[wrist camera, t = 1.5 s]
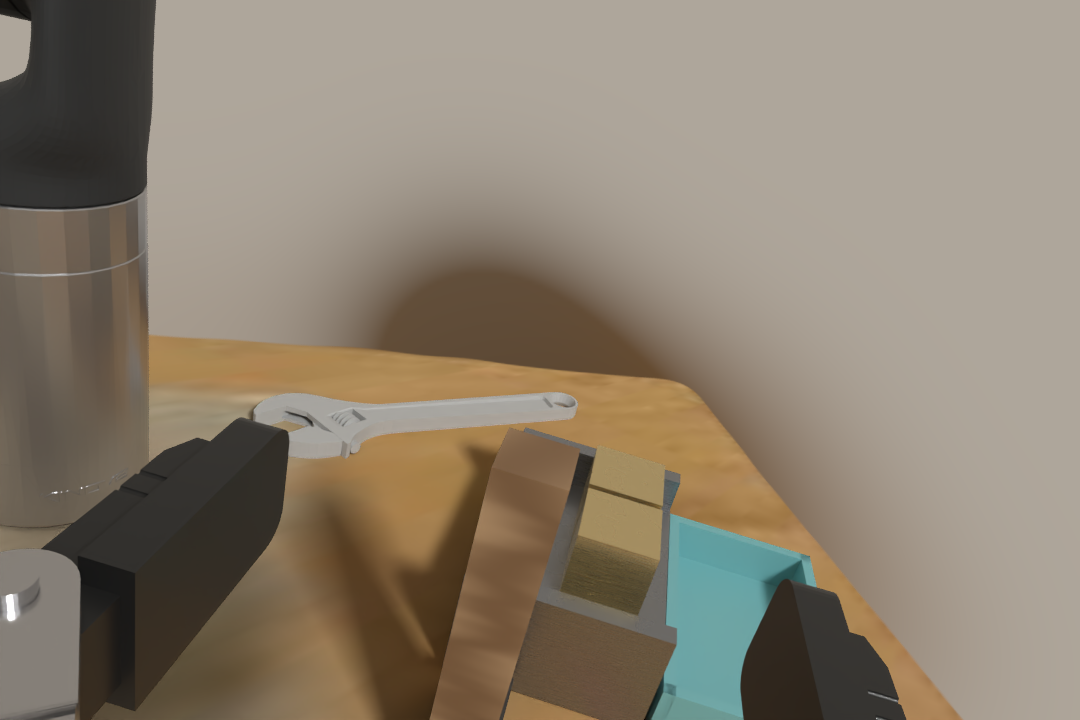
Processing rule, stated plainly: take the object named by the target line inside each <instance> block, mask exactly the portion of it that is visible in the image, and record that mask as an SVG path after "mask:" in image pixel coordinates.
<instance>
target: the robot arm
mask: <svg viewBox="0 0 1080 720" xmlns="http://www.w3.org/2000/svg"><path fill="white" fill-rule="evenodd" d="M155 9H156V0H0V14H1V15H6V16H10V17H15V18H19V19H24V20H28V21H31V42H30V53H29V60H28V64H27V68H26V70H25V71H24V73H22V74H20V75H18V76H16V77H14V78H12V79H9V80H6V81H3V82H0V525H4V526H14V527H26V528H28V527H50V526H57V525H63V524H70V523H73V524H72V525H70V526H69V527H68V528H67V529H65V530H64V531H63V532H62V533H60V534H59V535H58V536H57V537H55V538H54V539H53V540H52V541H50V542H49V543H48V544H47V545H45V546H44V547H43V548H42V549H15V550H9V551H3V552H0V720H90V719H91V718H92V717H93V716H94V715H95V713H96V712H97V711H98V710H99V709H100V708H101V706H102V705H103V704H104V703H105V702H108V703H111V704H114V705H117V706H120V707H124V708H127V709H130V710H133V711H136V709H137V708H138V707H139V706H140V704H141V703H142V702H143V701H144V699H145V698H146V697H147V696H148V694H149V693H150V692H151V691H152V689H153V688H154V687H155V686H156V684H157V683H158V682H159V681H160V679H161V678H162V677H163V676H164V674H165V673H166V672H167V671H168V669H169V668H170V667H171V666H172V665H173V663H174V662H175V661H176V660H177V658H178V657H179V656H180V655H181V653H182V652H183V651H184V650H185V648H186V647H187V646H188V645H189V643H190V642H191V641H192V640H193V638H194V637H195V636H196V635H197V633H198V632H199V631H200V630H201V628H202V627H203V626H204V625H205V623H206V622H207V621H208V620H209V618H210V617H211V616H212V615H213V614H214V612H215V611H216V610H217V609H218V607H219V606H220V605H221V604H222V602H223V601H224V600H225V599H226V597H227V596H228V595H229V594H230V592H231V591H232V590H233V589H234V587H235V586H236V585H237V584H238V582H239V581H240V580H241V579H242V577H243V576H244V575H245V574H246V572H247V571H248V570H249V569H250V567H251V566H252V565H253V564H254V563H255V561H256V560H257V559H258V558H259V556H260V555H261V554H262V553H263V551H264V550H265V549H266V547H267V546H268V545H269V543H270V541H271V540H272V538H273V536H274V534H275V532H276V529H277V527H278V524H279V521H280V518H281V514H282V509H283V501H284V491H285V482H286V472H287V463H288V453H289V442H290V440H289V434H288V432H287V431H286V430H283V429H280V428H276V427H273V426H269V425H266V424H263V423H259V422H256V421H252V420H249V419H246V418H238V419H236V420H235V421H233V422H232V423H231V424H230V425H229V426H228V427H226V428H225V429H224V430H223V431H222V432H221V433H219V434H218V435H217V436H216V437H215V438H214V439H212V440H211V441H207V440H203V439H200V438H195V439H193V440H190V441H188V442H185V443H182V444H180V445H177V446H175V447H172V448H169V449H167V450H164V451H163V452H162V453H161V454H159V455H158V456H157V457H156V458H154V459H153V460H152V461H151V462H149V335H148V243H147V151H148V142H149V132H150V125H151V114H152V93H153V91H152V90H153V87H152V86H153V83H152V82H153V46H154V25H155ZM740 692H741V702H742V710H743V719H744V720H906V717H905V715H904V712H903V709H902V706H901V705H900V704H898V699H899V698H898V695H897V692H896V689H895V687H894V684H893V681H892V678H891V675H890V673H889V670H888V667H887V666H886V665H885V663H884V662H883V661H882V659H881V658H880V657H879V655H878V654H877V653H876V651H875V650H874V649H873V647H872V646H871V645H870V643H869V642H868V641H867V639H866V638H865V637H864V636H860V635H857V634H854V633H850V632H849V629H848V626H847V623H846V620H845V616H844V613H843V610H842V607H841V604H840V601H839V598H838V596H837V595H836V594H835V593H833V592H830V591H827V590H823V589H820V588H816V587H813V586H810V585H806V584H803V583H799V582H796V581H793V580H789V579H784V580H783V581H781V583H780V584H779V585H778V587H777V589H776V591H775V593H774V595H773V597H772V599H771V601H770V603H769V605H768V607H767V610H766V612H765V614H764V616H763V618H762V620H761V622H760V624H759V626H758V628H757V631H756V633H755V635H754V637H753V639H752V641H751V643H750V645H749V647H748V650H747V652H746V655H745V658H744V662H743V666H742V672H741V681H740Z"/></svg>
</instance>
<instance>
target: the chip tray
mask: <svg viewBox="0 0 1080 720" xmlns="http://www.w3.org/2000/svg"><path fill="white" fill-rule="evenodd" d="M784 579H789V580H793V581H796V582H799V583H803V584H806V585H810V586H813V587H816V582H815V578H814V573H813V569H812V565H811V560H810V556H807V555H804V554H800V553H797V552H794V551H791V550H787V549H784V548H781V547H777V546H774V545H771V544H768V543H764V542H761V541H758V540H755V539H751V538H748V537H745V536H741V535H738V534H735V533H732V532H728V531H725V530H722V529H719V528H715V527H712V526H709V525H706V524H702V523H699V522H696V521H692V520H689V519H686V518H683V517H679V516H676V515H673V514H670V522H669V547H668V572H667V596H666V621H665V625H668V626H671V627H674V628H677V645H676V648H675V650H674V652H673V655H672V657H671V659H670V661H669V664H668V666H667V668H666V670H665V673H664V675H663V677H662V680H661V682H660V684H659V686H658V689H657V691H656V693H655V695H654V698H653V700H652V702H651V705H650V707H649V709H648V711H647V714H646V720H744V719H743V710H742V702H741V692H740V681H741V672H742V666H743V662H744V658H745V655H746V652H747V650H748V647H749V645H750V643H751V641H752V639H753V637H754V635H755V633H756V631H757V628H758V626H759V624H760V622H761V620H762V618H763V616H764V614H765V612H766V610H767V607H768V605H769V603H770V601H771V599H772V597H773V595H774V593H775V591H776V589H777V587H778V585H779V584H780V583H781V581H783V580H784ZM816 588H817V587H816Z"/></svg>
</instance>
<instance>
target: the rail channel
mask: <svg viewBox="0 0 1080 720" xmlns="http://www.w3.org/2000/svg"><path fill="white" fill-rule="evenodd" d="M524 432H526V433H529V434H533V435H536V436H539V437H543V438H546V439H549V440H552V441H556V442H559V443H562V444H566V445H569V446H572V447H576V448H579V449H580V453H579V457H578V460H577V464H576V468H575V472H574V476H573V480H572V484H571V488H570V491H569V495H568V498H567V501H566V504H565V508H564V511H563V514H562V517H561V521H560V524H559V527H558V530H557V534H556V537H555V540H554V543H553V546H552V550H551V553H550V556H549V559H548V563H547V566H546V569H545V572H544V576H543V579H542V582H541V585H540V589H539V592H538V595H537V598H536V602H535V605H534V608H533V611H532V615H531V618H530V621H529V624H528V628H527V631H526V634H525V637H524V641H523V644H522V647H521V650H520V654H519V657H518V660H517V663H516V666H515V670H514V673H513V676H512V678H513V679H514V680H513V684H512V688H511V690H512V691H515V692H518V693H521V694H524V695H527V696H530V697H533V698H536V699H539V700H542V701H545V702H548V703H551V704H555V705H558V706H561V707H564V708H567V709H570V710H573V711H576V712H579V713H582V714H585V715H588V716H591V717H594V718H597V719H600V720H644V718H645V716H646V714H647V711H648V709H649V707H650V705H651V702H652V700H653V698H654V695H655V693H656V691H657V689H658V686H659V684H660V682H661V680H662V677H663V675H664V673H665V670H666V668H667V666H668V664H669V661H670V659H671V657H672V655H673V652H674V650H675V648H676V645H677V628H674V627H671V626H668V625H665V621H666V596H667V572H668V547H669V522H670V508H671V505H672V503H673V500H674V498H675V495H676V492H677V490H678V487H679V485H680V474H678V473H674V472H671V471H668V470H665V476H664V494H663V507H662V509H661V510H663V514H662V532H661V550H660V561H659V564H658V566H657V569H656V571H655V574H654V577H653V579H652V582H651V584H650V587H649V589H648V592H647V594H646V597H645V599H644V602H643V604H642V607H641V609H640V612H639V614H638V616H636V615H633V614H630V613H627V612H624V611H621V610H617V609H614V608H611V607H608V606H605V605H602V604H598V603H595V602H592V601H589V600H586V599H583V598H579V597H576V596H573V595H570V594H567V593H564V592H561V591H559V590H560V586H561V582H562V577H563V573H564V569H565V564H566V560H567V556H568V551H569V547H570V544H571V538H572V534H573V529H574V525H575V521H576V516H577V512H578V508H579V503H580V499H581V496H582V493H583V490H584V487H585V483H586V480H587V477H588V474H589V471H590V468H591V465H592V462H593V458H594V455H595V452H596V449H595V448H592V447H588V446H585V445H582V444H578V443H575V442H572V441H568V440H565V439H562V438H558V437H555V436H552V435H549V434H545V433H542V432H539V431H535V430H532V429H529V428H525V429H524ZM464 577H465V576H464ZM463 581H464V579H463ZM462 585H463V583H462ZM461 590H462V587H461ZM460 594H461V591H460ZM459 598H460V595H459ZM458 602H459V599H458ZM457 606H458V603H457ZM456 610H457V607H456ZM455 614H456V611H455ZM454 618H455V615H454ZM453 622H454V619H453ZM452 626H453V624H452ZM451 630H452V628H451ZM450 634H451V632H450ZM449 638H450V636H449ZM448 643H449V640H448ZM447 647H448V644H447ZM446 651H447V648H446ZM445 655H446V652H445ZM444 659H445V656H444ZM443 663H444V660H443ZM442 667H443V664H442Z"/></svg>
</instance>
